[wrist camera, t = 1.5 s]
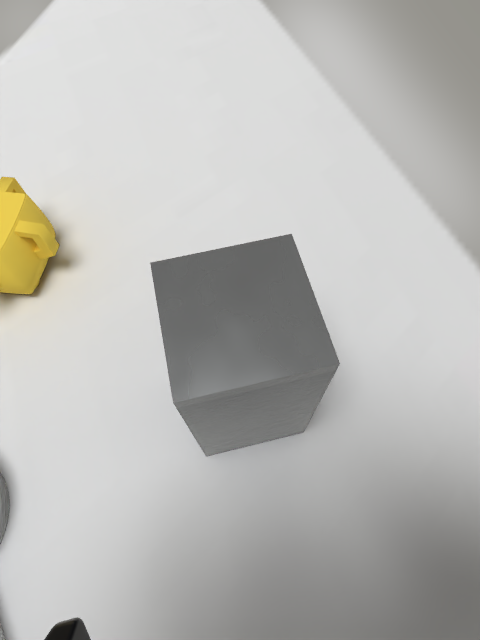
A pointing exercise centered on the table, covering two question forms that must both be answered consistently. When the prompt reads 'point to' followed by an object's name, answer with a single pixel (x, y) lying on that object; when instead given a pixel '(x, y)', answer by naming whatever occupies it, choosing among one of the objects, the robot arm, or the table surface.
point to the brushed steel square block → (243, 342)
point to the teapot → (22, 240)
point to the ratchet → (3, 520)
